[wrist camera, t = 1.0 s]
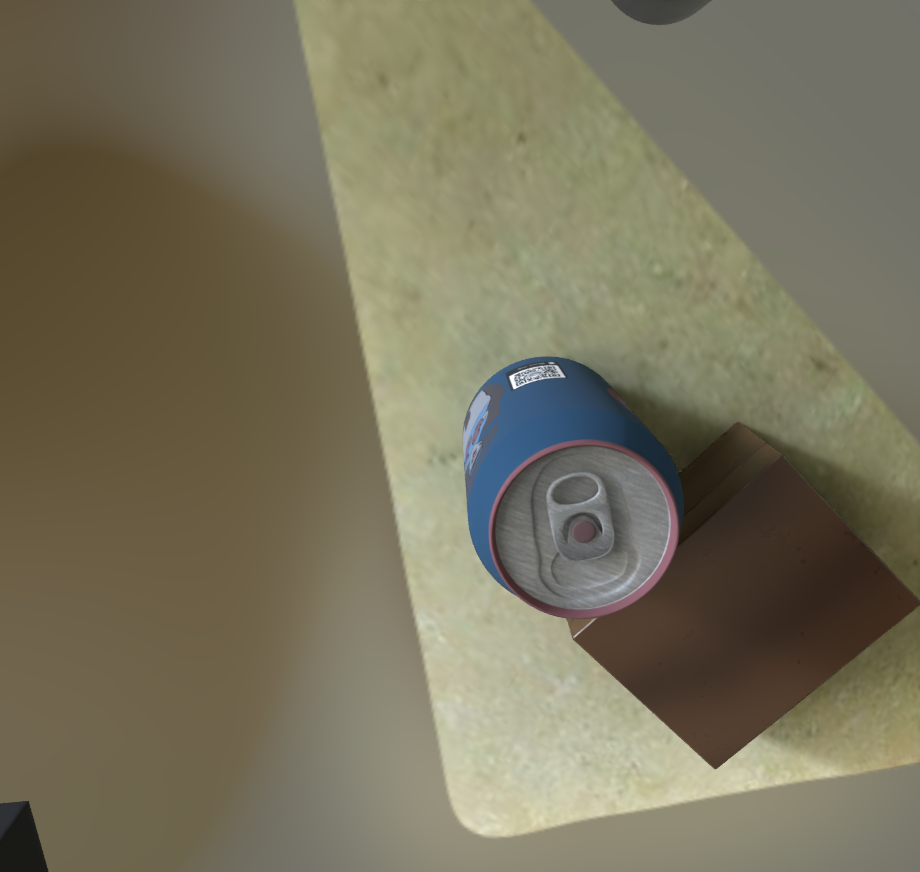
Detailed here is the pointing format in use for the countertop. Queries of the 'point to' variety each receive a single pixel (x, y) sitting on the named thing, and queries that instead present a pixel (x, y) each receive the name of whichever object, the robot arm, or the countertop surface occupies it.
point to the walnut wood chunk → (747, 602)
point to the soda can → (568, 490)
